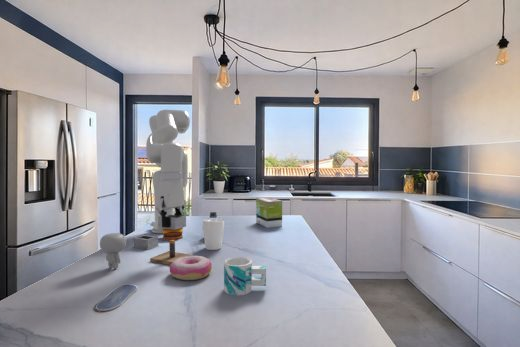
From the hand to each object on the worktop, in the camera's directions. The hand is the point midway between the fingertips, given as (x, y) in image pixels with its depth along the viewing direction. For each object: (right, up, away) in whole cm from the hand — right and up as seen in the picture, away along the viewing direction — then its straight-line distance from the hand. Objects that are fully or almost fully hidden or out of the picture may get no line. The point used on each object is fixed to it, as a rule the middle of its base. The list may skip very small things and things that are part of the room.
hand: (172, 225), depth 118 cm
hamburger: (-9, -12, +34) cm, 37 cm away
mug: (+28, -15, -25) cm, 41 cm away
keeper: (0, -13, +1) cm, 13 cm away
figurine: (-18, -14, -8) cm, 24 cm away
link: (0, -1, 0) cm, 1 cm away
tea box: (+38, -10, +65) cm, 76 cm away
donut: (+10, -14, -14) cm, 22 cm away
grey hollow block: (-16, -12, +19) cm, 28 cm away
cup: (+13, -13, +17) cm, 25 cm away
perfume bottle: (+10, -12, +35) cm, 38 cm away
